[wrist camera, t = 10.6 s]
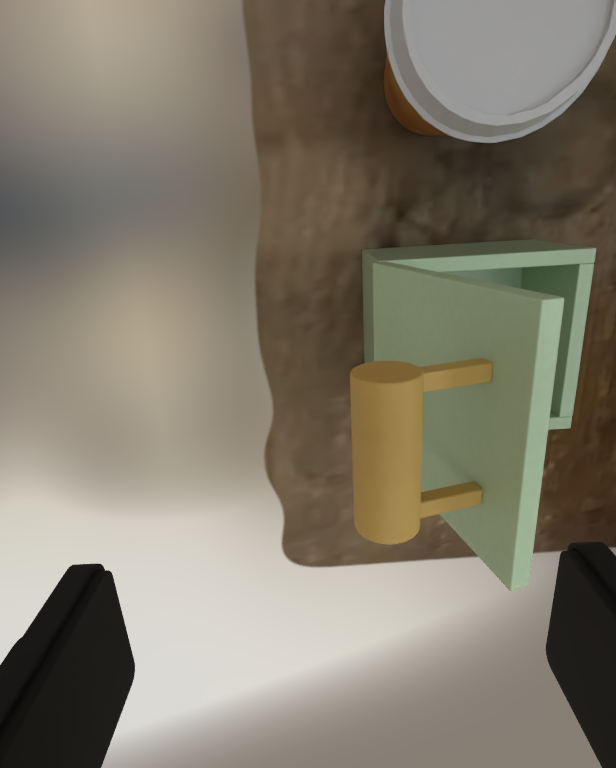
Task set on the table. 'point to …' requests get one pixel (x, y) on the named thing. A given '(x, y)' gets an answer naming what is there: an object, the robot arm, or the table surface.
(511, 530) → the lid
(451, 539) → the table surface
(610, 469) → the table surface
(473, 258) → the chest
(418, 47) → the disposable coffee cup
